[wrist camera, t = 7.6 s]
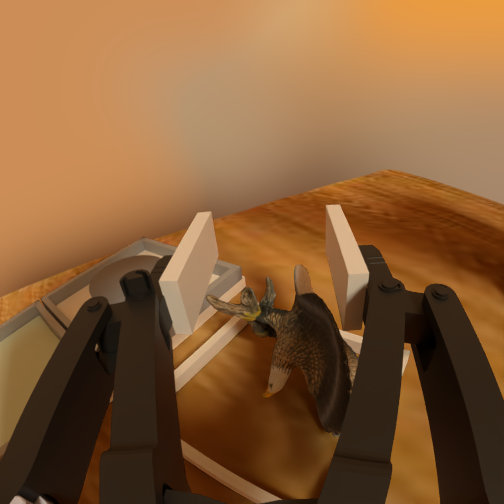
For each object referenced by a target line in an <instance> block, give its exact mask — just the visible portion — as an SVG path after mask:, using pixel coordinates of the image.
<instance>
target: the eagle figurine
mask: <svg viewBox="0 0 504 504" xmlns="http://www.w3.org/2000/svg"><path fill="white" fill-rule="evenodd" d="M294 281H295V283H294V284H295V291H296V295H295V301H294V305H293V307H292V310H291V311H287V310H280V309H276V308H272V306H273V305H274V298H275V297H276V293H275V291H274V287H273V283H272V280H271V279H270V278H269V277H266V284H267V289H266V292H265V294H264V296H263V297H262V299H261V300H260V302H259V305H258V302H257V298H256V296H255V294H254V291H253V289H252V288H249V287H245V288H244V289H243V290H242V293H241V304H232V303H228V302H225V301H221V300H220V299H218V298H217V297H216V296H214V295H207V296H206V300H207V301H208V302H209V303H210V304H211V305H212V307H213V308H215V309H216V310H217V311H220V312H222V313H225V314H229V315H235V316H236V317H238V318H241V319H243V320H245V321H246V322H247V323H249V324H250V325H251V327H252V331H253V332H254V333H255V334H256V336H258V337H262V338H264V337H267V336H269V337H275V338H276V339H277V342H276V344H275V346H274V350H273V355H272V364H271V371H270V377H269V381H268V387H267V390H266V392H265V393H264V394H263V397H264V398H268V397H270V396H272V395H273V394H274V393H276V392H278V391H279V390H281V389H282V388H283V387H284V385H285V383H286V381H287V379H288V377H289V375H290V373H291V372H292V370H293V369H294V367H296V366H299V367H300V369H301V370H302V372H303V374H304V377H305V380H306V384H307V387H308V390H309V392H310V394H311V395H312V397H313V398H314V399H315V401H316V405H317V412H318V416H319V419H320V422H321V424H322V426H323V428H324V430H325V431H326V432H328V433H330V432H331V431H332V434H333V436H335V437H337V436H339V435H340V433H341V429H342V426H343V422H344V418H345V414H346V411H347V407H348V403H349V399H350V395H351V391H352V387H353V382H354V378H355V374H356V369H357V364H358V360H359V357H357V356H356V353H355V352H354V351H353V350H352V348H351V347H350V346H349V345H348V344H347V342H346V341H344V340H343V338H342V336H341V334H340V331H339V329H338V327H337V324H336V322H335V320H334V317H333V315H332V313H331V312H330V310H329V309H328V307H327V306H326V304H325V303H324V301H323V300H322V299H321V298H320V297H319V296H318V295H317V294H315V293H314V292H313V289H312V286H311V281H310V277H309V274H308V271H307V269H306V268H305V267H303V265H299V264H298V265H296V266H295V270H294Z"/></svg>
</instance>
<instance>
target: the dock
mask: <svg viewBox="0 0 504 504" xmlns="http://www.w3.org/2000/svg"><path fill="white" fill-rule="evenodd" d="M176 249H177V247H175V246H172V245H168V244H165V243H162V242H159V241H155V240H152V239H149V238H146V237H142V238H140V239H139V240H137V241H135V242H133V243H132V244H130V245H128V246H127V247H125V248H123V249H121V250H119V251H118V252H116V253H114V254H112V255H111V256H109V257H107V258H105V259H104V260H102V261H100V262H99V263H97V264H95V265H94V266H92V267H90V268H89V269H87V270H85V271H84V272H82V273H80V274H79V275H77V276H75V277H74V278H72V279H71V280H69V281H67V282H66V283H64V284H62V285H61V286H59V287H58V288H56V289H54V290H53V291H51V292H50V293H48V294H47V295H45V296H43V297H42V298H41V300H42V302H43V304H44V306H45V307H44V306H43V305H42V304H41V303H40V302H39V300H37V301H36V302H34V303H33V304H31V305H30V306H28V307H27V308H25V309H24V310H22V311H21V312H19V313H18V314H16V315H15V316H13V317H12V318H10V319H9V320H7V321H6V322H4V323H3V324H1V325H0V461H1V460H2V458H3V455H4V453H5V450H6V448H7V445H8V443H9V441H10V438H11V436H12V434H13V432H14V429H15V427H16V425H17V423H18V420H19V418H20V416H21V414H22V412H23V410H24V408H25V406H26V404H27V402H28V400H29V398H30V396H31V394H32V392H33V390H34V388H35V386H36V384H37V382H38V380H39V378H40V376H41V374H42V372H43V371H44V369H45V367H46V365H47V363H48V361H49V360H50V358H51V356H52V354H53V352H54V351H55V349H56V347H57V345H58V344H59V342H60V340H61V339H62V337H63V335H64V334H65V332H66V330H67V329H68V327H69V325H70V324H71V322H72V320H73V319H74V317H75V315H76V314H77V312H78V311H79V309H80V307H81V306H82V305H83V304H84V302H86V301H87V300H89V299H90V298H92V297H97V296H103V297H106V298H107V299H108V302H109V304H110V305H111V304H115V303H120V302H124V301H125V296H124V294H123V291H122V288H121V286H120V283H119V280H120V279H121V277H122V276H123V275H125V274H126V273H128V272H130V271H133V270H138V269H144V270H147V271H149V272H150V273H151V271H152V269H153V268H154V266H155V264H156V263H157V261H158V260H160V259H161V258H162V257H163V256H165V255H173V254H174V253H175V251H176ZM245 287H246V283H245V277H244V276H242V273H241V266H237V265H234V264H231V263H227V262H224V261H221V260H217V261H216V264H215V267H214V270H213V273H212V276H211V279H210V282H209V285H208V288H207V291H206V294H205V297H204V300H203V303H202V306H201V309H200V312H199V316H198V319H197V322H196V325H195V328H194V331H195V330H197V329H198V328H199V327H200V326H201V325H202V324H203V323H205V322H206V321H207V320H208V319H209V318H210V317H212V316H213V315H214V314H215V313H216V312H217V310H216V309H215V308H213V307H212V305H211V304H210V303H209V302H208V301H207V300H206V296H207V295H214V296H216V297H217V298H218V299H220V300H221V301H225V302H229V301H230V300H231V299H232V298H233V297H234V296H236V295H237V294H238V293H239V292H240V291H241V290H242V289H244V288H245ZM194 331H193V332H194ZM169 333H170V335H171V338H172V348H173V349H174V348H176V347H177V346H178V345H179V344H180V343H181V342H183V341H184V340H185V339H186V338H187V337H188V336H190V335H191V334H175V331H174V328H173V325H172V326H171V329H170V331H169ZM97 347H98V345H97V344H96V348H95V351H96V349H97ZM113 391H114V390H113ZM112 401H113V393H112V396H111V398H110V401H109V403H110V402H112Z"/></svg>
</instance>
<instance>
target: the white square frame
mask: <svg viewBox="0 0 504 504" xmlns="http://www.w3.org/2000/svg"><path fill="white" fill-rule="evenodd" d="M258 305H259V302H258ZM272 308H273V307H272ZM247 324H248V323H247V322H246V321H245V320H243V319H241V318H238V317H236V316H235V315H234V316H233V317H232V318H231V319H230V320H229V321H228V322H227V323H226V324H225V325H224V326H223V327H222V328H221V329H219V330H218V331H217V332H216V333H215V334H214V335H213V336H212V337H211V338H210V339H209V340H207V341H206V342H205V343H204V344H203V345H202V346H201V347H200V348H199V349H198V350H197V351H195V352H194V353H193V354H192V355H191V356H190V357H189V358H188V359H187V360H185V361H184V362H183V363H182V364H181V365H180V366H179V367H178V368H177V369H175V370H174V377H175V389H176V392H177V391H179V390H180V389H181V388H182V387H183V386H184V385H185V384H186V383H187V382H188V381H189V380H190V379H191V378H192V377H193V376H194V375H196V374H197V373H198V372H199V371H200V370H201V369H202V368H203V367H204V366H205V365H206V364H207V363H208V362H209V361H210V360H211V359H212V358H213V357H214V356H215V355H216V354H217V353H218V352H219V351H220V350H221V349H223V348H224V347H225V346H226V345H227V344H228V343H229V342H230V341H231V340H232V339H233V338H234V337H235V336H236V335H237V334H238V333H239V332H240V331H241V330H242V329H243V328H244V327H245V326H246V325H247ZM339 331H340V334H341V336H342V338H343V340H344V341H346V342H347V344H348V345H349V346H350V347H351V348H352V350H353V351H354V352H355V353H358V354H360V350H361V345H362V340H363V337H361V336H358V335H355V334H352V333H349V332H345V331H342V330H339ZM410 352H411V351H408V350H405V349H404V353H403V367H402V375H403V372H404V369H405V367H406V364H407V361H408V358H409V355H410ZM181 445H182V453H183V458H185V459H186V460H187V461H189V462H190V463H192V464H193V465H195V466H196V467H198V468H199V469H200V470H202V471H203V472H205V473H206V474H208V475H209V476H211V477H213V478H214V479H216V480H217V481H219V482H220V483H222V484H224V485H225V486H227V487H228V488H230V489H232V490H233V491H235V492H237V493H239V494H240V495H242V496H244V497H246V498H247V499H249V500H251V501H253V502H254V503H256V504H260V503H265V502H271V501H275V500H282V499H280V498H278V497H276V496H274V495H272V494H270V493H268V492H266V491H264V490H262V489H261V488H259V487H257V486H255V485H253V484H251V483H250V482H248V481H246V480H244V479H242V478H241V477H239V476H237V475H236V474H234V473H232V472H230V471H229V470H227V469H226V468H224V467H222V466H221V465H219V464H217V463H216V462H214V461H213V460H211V459H210V458H208V457H207V456H205V455H203V454H202V453H200V452H199V451H197V450H196V449H195V448H193V447H192V446H190V445H189V444H187V443H186V442H184V441H183V440H182V439H181Z"/></svg>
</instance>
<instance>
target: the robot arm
mask: <svg viewBox="0 0 504 504" xmlns="http://www.w3.org/2000/svg"><path fill="white" fill-rule="evenodd" d="M326 254H327V258H328V263H329V267H330V271H331V276H332V280H333V285H334V289H335V294H336V298H337V303H338V308H339V313H340V318H341V323H342V328H343V331H349V330H361V328H362V322H364V325H365V329H364V334H363V340H362V345H361V350H360V355H359V360H358V364H357V369H356V374H355V378H354V382H353V387H352V391H351V395H350V399H349V403H348V407H347V411H346V414H345V418H344V422H343V426H342V429H341V433H340V436H339V439H338V443H337V446H336V449H335V453H334V456H333V459H332V462H331V465H330V468H329V471H328V474H327V477H326V480H325V483H324V486H323V488H322V491H321V494H320V497H319V499H318V498H317V499H295V500H275V501H271V502H265V503H260V504H385V501H386V497H387V493H388V489H389V484H390V480H391V474H392V464H391V462H390V457H391V451H392V446H393V440H394V434H395V428H396V421H397V414H398V406H399V398H400V389H401V379H402V367H403V353H404V343H410V344H411V348H412V351H413V355H414V359H415V362H416V366H417V370H418V374H419V378H420V383H421V387H422V391H423V396H424V400H425V405H426V410H427V415H428V420H429V425H430V430H431V436H432V442H433V448H434V454H435V461H436V468H437V476H438V485H439V494H440V504H504V400H503V397H502V395H501V392H500V389H499V387H498V384H497V381H496V379H495V376H494V374H493V371H492V369H491V366H490V364H489V362H488V359H487V357H486V355H485V352H484V350H483V348H482V346H481V343H480V341H479V339H478V337H477V335H476V333H475V331H474V329H473V326H472V324H471V322H470V320H469V318H468V316H467V314H466V312H465V310H464V308H463V307H462V305H461V303H460V301H459V299H458V297H457V295H456V293H455V292H454V291H453V290H452V289H451V288H450V287H448V286H446V285H443V284H431V285H429V286H427V287H426V289H425V292H424V293H418V292H411V291H408V290H405V287H404V284H403V283H402V282H401V281H399V280H397V279H395V278H393V277H392V275H391V273H390V271H389V268H388V266H387V264H386V263H385V260H384V259H383V257H382V255H381V253H380V251H379V250H378V249H377V248H376V247H374V246H373V245H361V246H358V245H357V242H356V240H355V238H354V235H353V233H352V231H351V229H350V226H349V224H348V222H347V220H346V217H345V215H344V213H343V211H342V209H341V206H340V205H326ZM217 258H218V249H217V243H216V237H215V231H214V225H213V219H212V213H211V212H199V213H197V215H196V217H195V218H194V220H193V222H192V223H191V225H190V227H189V228H188V230H187V232H186V234H185V235H184V237H183V239H182V240H181V242H180V244H179V246H178V247H177V249H176V251H175V253H174V254H173V255H165V256H163V257H162V258H161V259H160V260H158V261H157V263H156V264H155V266H154V268H153V269H152V271H151V273H150V272H149V271H147V270H144V269H138V270H133V271H130V272H128V273H126V274H125V275H123V276H122V277H121V279H120V280H119V283H120V286H121V288H122V291H123V294H124V296H125V301H124V302H120V303H115V304H111V305H110V304H109V302H108V299H107V298H106V297H103V296H97V297H92V298H90V299H89V300H87V301H86V302H84V304H83V305H82V306H81V307H80V309H79V311H78V312H77V314H76V315H75V317H74V319H73V320H72V322H71V324H70V325H69V327H68V329H67V330H66V332H65V334H64V335H63V337H62V339H61V340H60V342H59V344H58V345H57V347H56V349H55V351H54V352H53V354H52V356H51V358H50V360H49V361H48V363H47V365H46V367H45V369H44V371H43V372H42V374H41V376H40V378H39V380H38V382H37V384H36V386H35V388H34V390H33V392H32V394H31V396H30V398H29V400H28V402H27V404H26V406H25V408H24V410H23V412H22V414H21V416H20V418H19V420H18V423H17V425H16V427H15V429H14V432H13V434H12V436H11V438H10V441H9V443H8V445H7V448H6V450H5V453H4V455H3V458H2V460H1V461H0V504H77V503H78V501H79V498H80V494H81V491H82V488H83V484H84V481H85V477H86V473H87V470H88V467H89V463H90V460H91V456H92V453H93V450H94V447H95V443H96V440H97V437H98V434H99V431H100V428H101V425H102V422H103V419H104V416H105V413H106V410H107V407H108V404H109V401H110V398H111V396H112V393H113V404H112V420H111V443H110V448H109V450H107V451H104V452H103V453H102V455H101V458H100V483H99V488H100V504H226V503H223V502H220V501H217V500H214V499H211V498H209V497H206V496H203V495H200V494H193V493H191V490H190V487H189V485H188V483H187V479H186V474H185V467H184V460H183V453H182V445H181V437H180V429H179V420H178V410H177V400H176V389H175V377H174V364H173V348H172V338H171V335H170V333H169V331H170V329H171V326H172V325H173V328H174V331H175V334H193V331H194V328H195V325H196V322H197V319H198V316H199V312H200V309H201V306H202V303H203V300H204V297H205V294H206V291H207V288H208V285H209V282H210V279H211V276H212V273H213V270H214V267H215V264H216V261H217ZM96 344H97V345H98V347H97V349H96V351H95V348H96ZM113 390H114V391H113Z"/></svg>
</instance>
